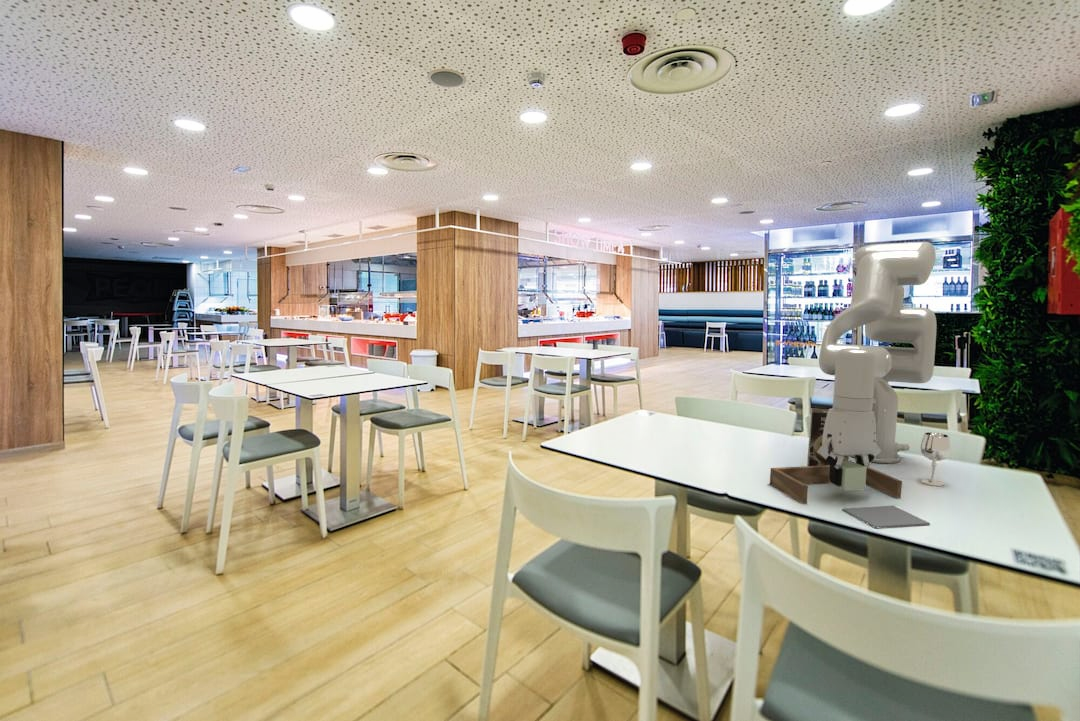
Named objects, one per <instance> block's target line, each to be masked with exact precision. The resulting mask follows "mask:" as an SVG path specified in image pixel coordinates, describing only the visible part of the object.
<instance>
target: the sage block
mask: <svg viewBox="0 0 1080 721" xmlns="http://www.w3.org/2000/svg"><path fill="white" fill-rule="evenodd" d="M840 468H841V469H842V484H841V486H837V485H835V484H833V483H831V482H830V481H829V484H831V485H833V486H835V487H837V488H839V489H841V490H843V491H854V490H855V491H857V490H860V491H861V490H866V484H865V483H866V470H867V467H865V466H862V465H860V464H857V463H856V461H852V460H849V461H842V464H841V466H840Z"/></svg>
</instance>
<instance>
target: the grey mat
mask: <svg viewBox="0 0 1080 721" xmlns="http://www.w3.org/2000/svg"><path fill="white" fill-rule="evenodd" d="M841 510H842V511H843V512H844V511H845V513H846V512H847V513H846V514H848V513H849V514H848V515H850V516H852V517H853V516H854V518H855V517H856V518H855V519H857V518H858V519H857V520H859V519H860V520H859V521H861V520H862V521H864V522H865V523H864V522H863V523H864V524H866V523H868V524H869V525H868V524H867V525H868V526H870V525H871V526H874V527H875V528H876V529H878V528H877V527H887V528H886V529H888V528H889V527H890V528H891V527H892V528H904V527H905V528H907V527H920V526H930V525H931V523H930V522H928V521H927V520H924V519H922V518H920V517H918V516H916V515H913V514H911V513H909V512H908V511H905V510H903V509H902V508H899V507H897V506H895V505H881V506H878V505H877V506H862V507H861V506H860V507H845V508H842V509H841ZM862 521H861V522H862ZM871 526H870V527H871ZM875 528H874V529H875ZM890 528H889V529H890ZM892 528H891V529H892Z"/></svg>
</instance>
